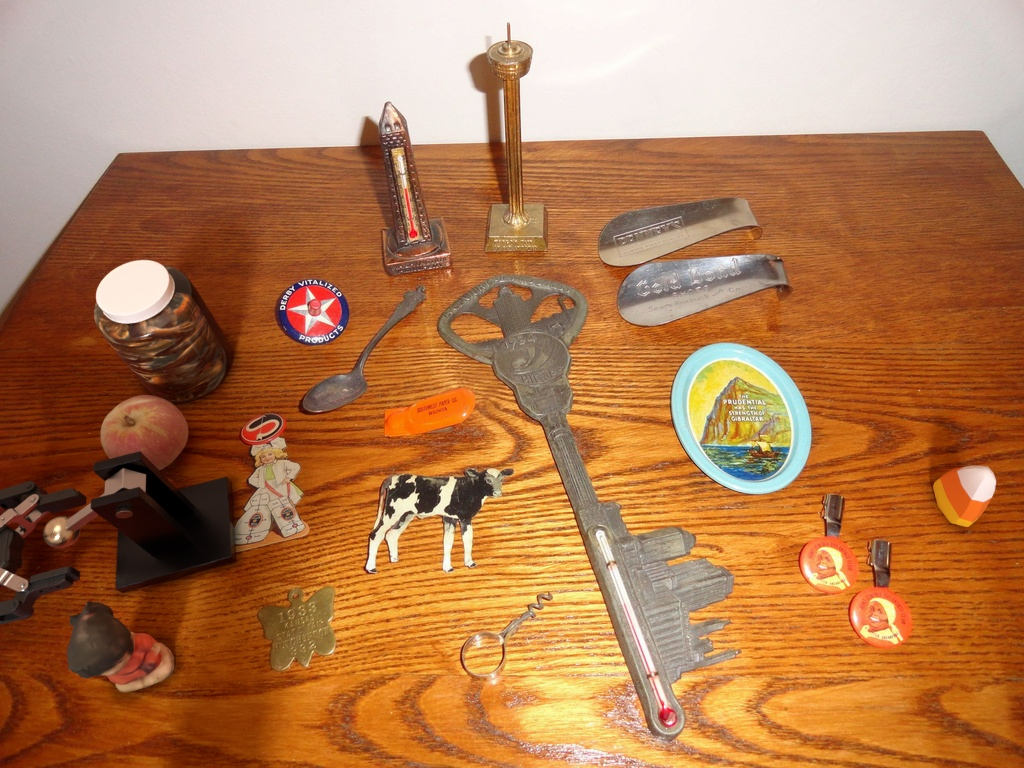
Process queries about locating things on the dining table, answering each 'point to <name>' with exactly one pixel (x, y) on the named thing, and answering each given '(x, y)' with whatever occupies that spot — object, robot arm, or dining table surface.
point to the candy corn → (965, 493)
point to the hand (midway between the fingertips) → (79, 533)
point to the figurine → (115, 650)
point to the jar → (162, 330)
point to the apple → (145, 430)
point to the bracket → (166, 524)
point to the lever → (89, 510)
